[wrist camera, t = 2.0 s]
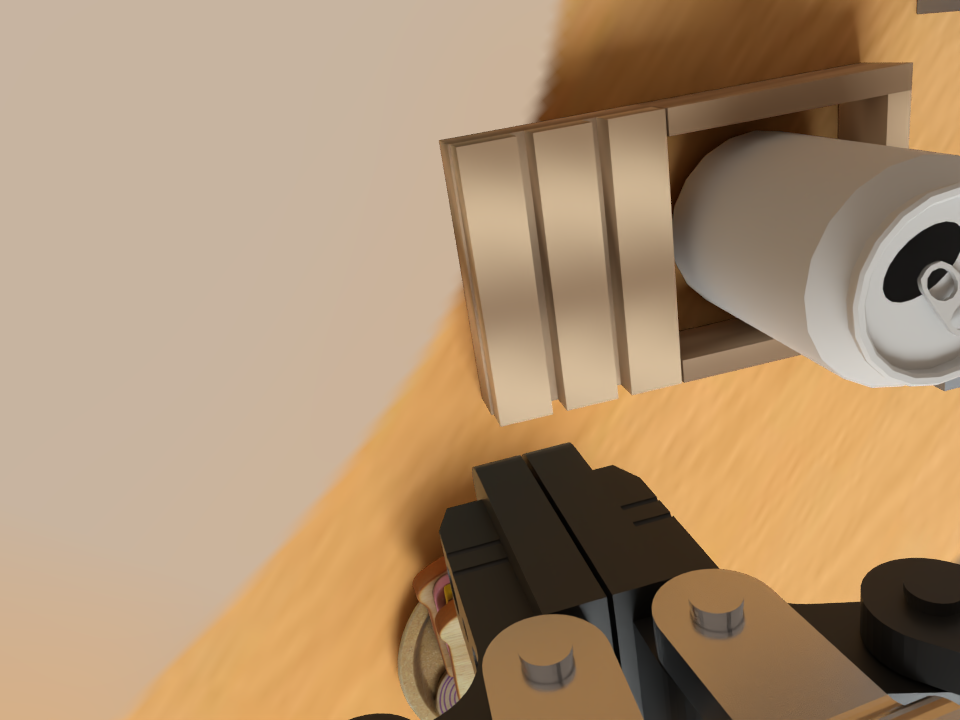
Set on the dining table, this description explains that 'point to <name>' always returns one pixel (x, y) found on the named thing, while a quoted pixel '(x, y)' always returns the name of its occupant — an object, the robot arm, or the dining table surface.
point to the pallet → (615, 239)
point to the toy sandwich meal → (433, 647)
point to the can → (831, 251)
